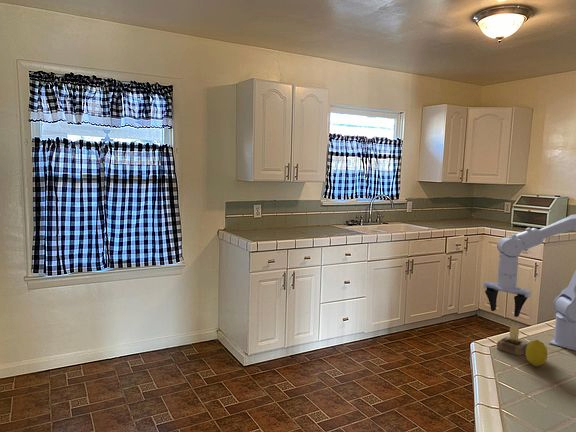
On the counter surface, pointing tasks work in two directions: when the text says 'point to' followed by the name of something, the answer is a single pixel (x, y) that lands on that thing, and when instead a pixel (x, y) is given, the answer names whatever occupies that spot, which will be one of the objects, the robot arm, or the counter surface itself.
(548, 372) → the counter surface
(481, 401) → the counter surface
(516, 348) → the socket block
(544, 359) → the lemon
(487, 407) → the counter surface
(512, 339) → the brass pin
